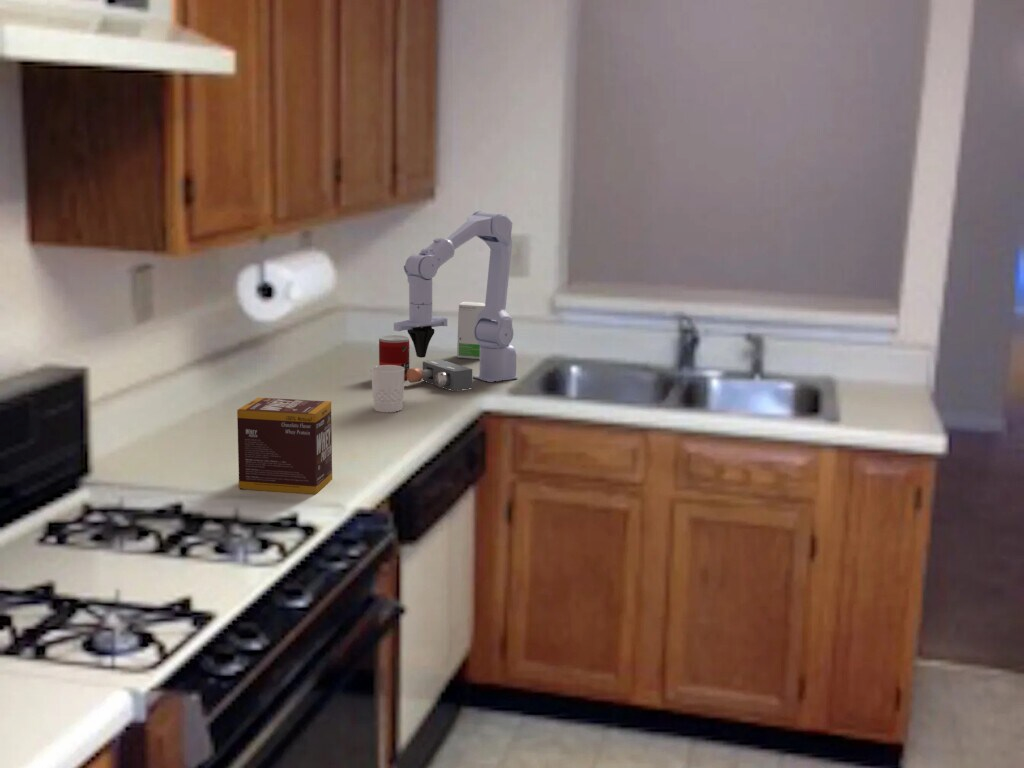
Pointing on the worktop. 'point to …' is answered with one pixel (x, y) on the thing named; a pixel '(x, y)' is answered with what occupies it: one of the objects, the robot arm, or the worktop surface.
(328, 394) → the worktop surface
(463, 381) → the mount
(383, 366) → the white cup
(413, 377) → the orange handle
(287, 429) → the supplement box
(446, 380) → the knob aluminium
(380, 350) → the canned food
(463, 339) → the skincare box
